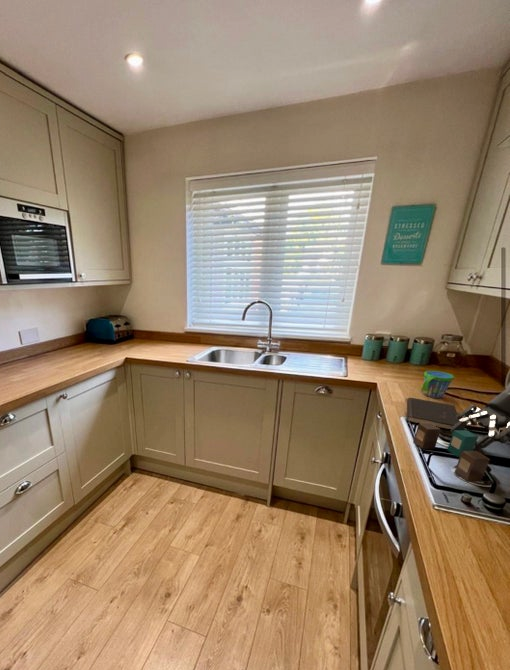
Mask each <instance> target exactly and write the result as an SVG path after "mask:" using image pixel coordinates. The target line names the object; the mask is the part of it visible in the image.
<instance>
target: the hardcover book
mask: <svg viewBox="0 0 510 670" xmlns="http://www.w3.org/2000/svg"><path fill="white" fill-rule="evenodd" d="M458 414H459V413H458V411H457V408H456V405H455V404H449V403H444V402H438V401H432V400H428V399H427V400H426V399H421V398H415V397H408V398H407V401H406V421H407V422H408V421H412V422H417V423H431V424H433V425H435V426H437V427H441V428H446V429H451V427H453V426H454V425H455V424H457V423H458V422H459V420H458V418H457V417H456V416H457V415H458Z"/></svg>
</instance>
